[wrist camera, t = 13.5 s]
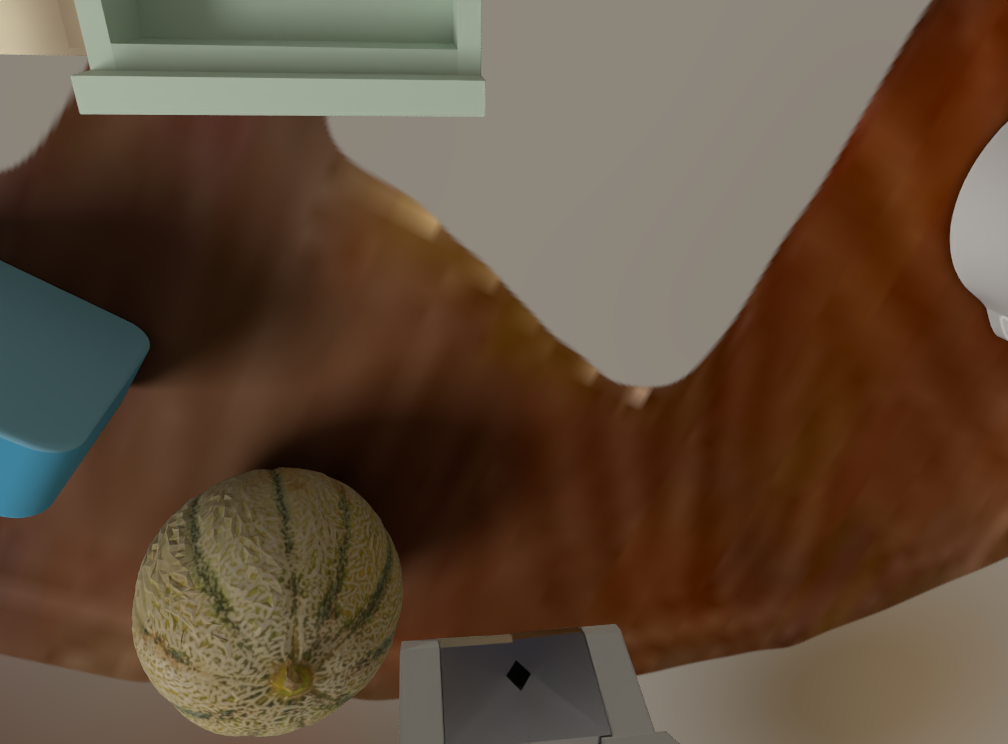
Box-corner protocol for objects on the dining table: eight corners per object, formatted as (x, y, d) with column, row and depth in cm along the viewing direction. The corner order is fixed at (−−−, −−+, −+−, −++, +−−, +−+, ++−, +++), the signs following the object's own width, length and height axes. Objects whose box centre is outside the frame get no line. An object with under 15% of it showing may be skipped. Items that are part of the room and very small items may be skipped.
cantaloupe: (143, 551, 47) (41, 769, 34) (227, 384, 41) (145, 566, 28) (345, 615, 52) (324, 825, 39) (442, 474, 47) (456, 663, 34)
